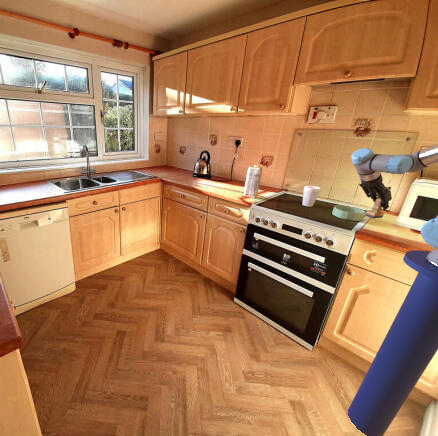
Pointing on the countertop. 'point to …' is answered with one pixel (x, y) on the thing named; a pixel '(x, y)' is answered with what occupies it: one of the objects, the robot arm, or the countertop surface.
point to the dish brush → (375, 210)
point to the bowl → (348, 213)
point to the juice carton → (252, 181)
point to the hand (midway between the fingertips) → (383, 207)
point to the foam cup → (310, 195)
